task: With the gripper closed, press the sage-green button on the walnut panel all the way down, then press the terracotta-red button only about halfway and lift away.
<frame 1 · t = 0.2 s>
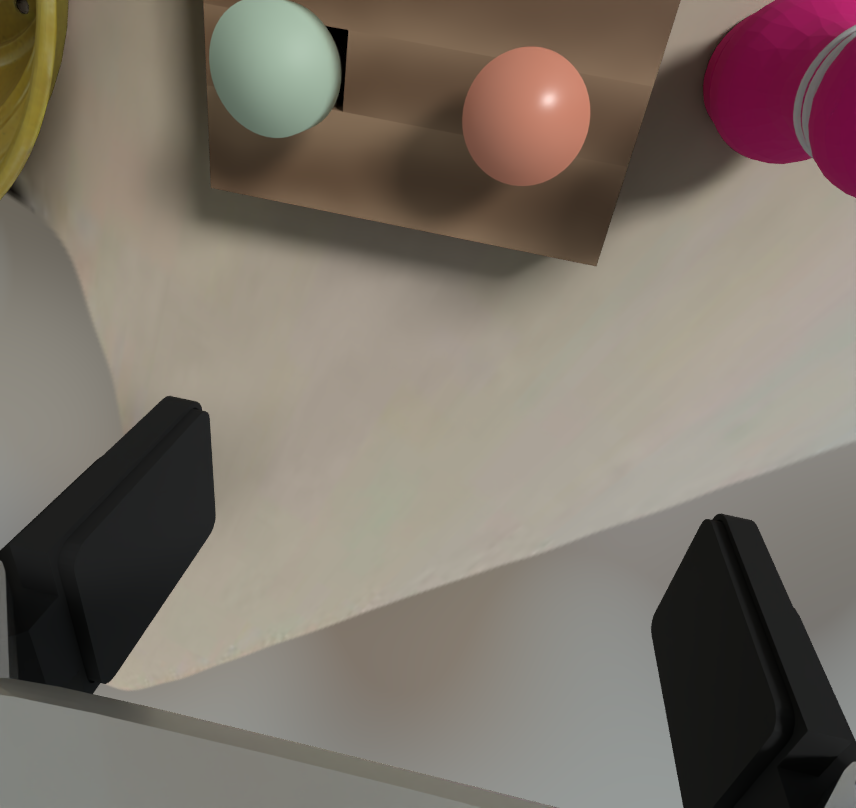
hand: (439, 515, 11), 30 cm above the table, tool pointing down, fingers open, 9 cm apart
pepper mill: (763, 75, 32), on the table
red button: (527, 110, 28), point 8 cm above the table, slide at 0.0 cm
button panel: (436, 78, 35), on the table
green button: (298, 67, 29), point 8 cm above the table, slide at 0.0 cm
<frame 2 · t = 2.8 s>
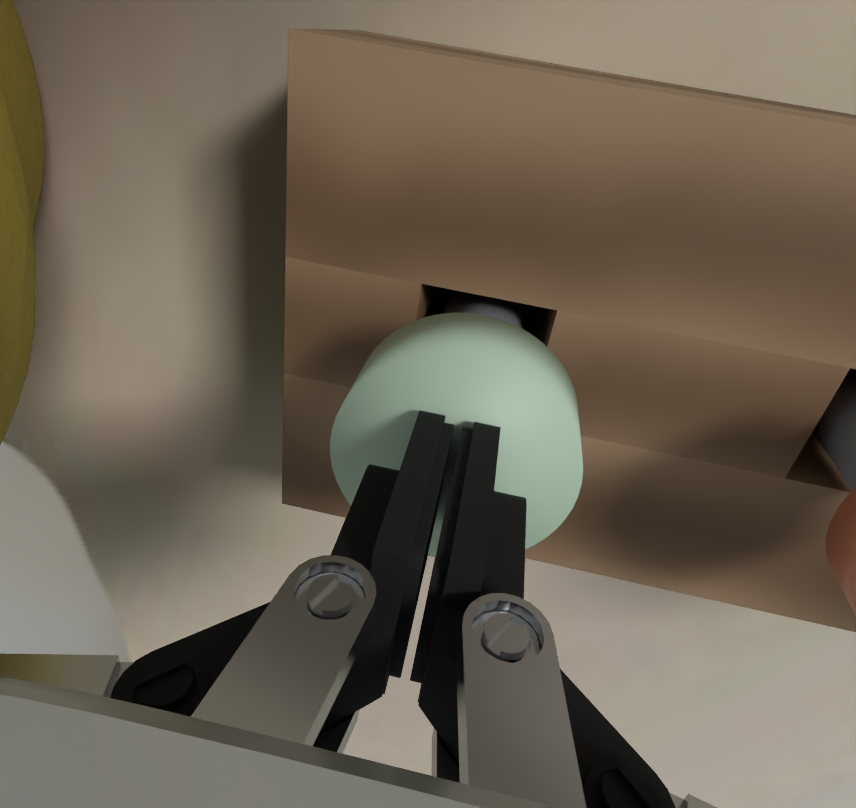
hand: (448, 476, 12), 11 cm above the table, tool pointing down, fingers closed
button panel: (645, 312, 21), on the table
green button: (471, 380, 16), point 7 cm above the table, slide at 0.4 cm, touching gripper
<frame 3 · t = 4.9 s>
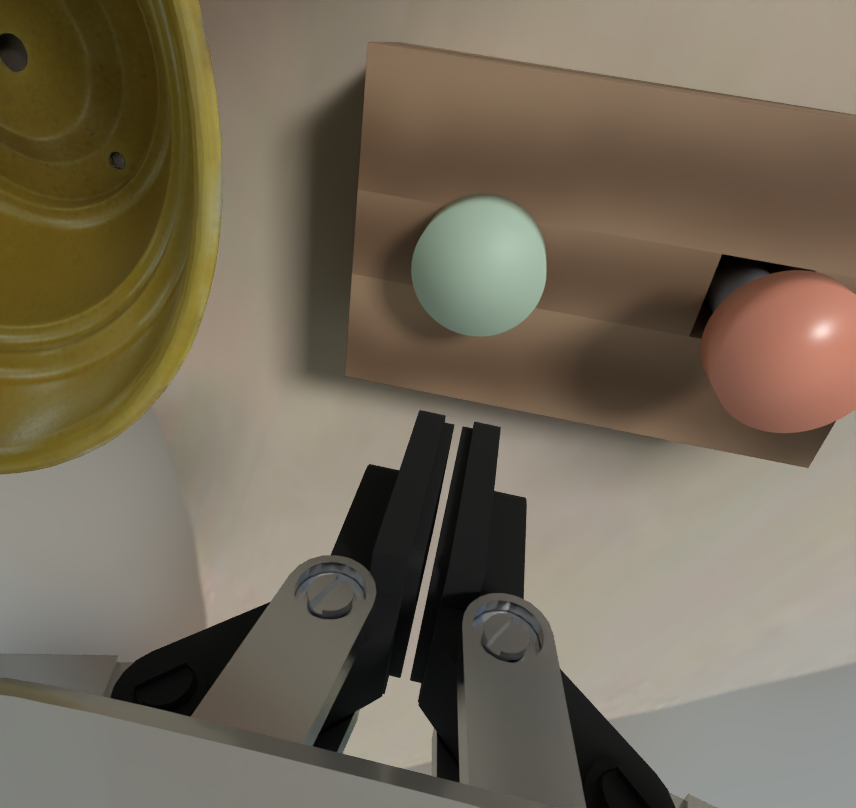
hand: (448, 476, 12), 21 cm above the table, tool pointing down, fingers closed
planter bowl: (31, 54, 30), on the table
red button: (763, 322, 23), point 8 cm above the table, slide at 0.0 cm
button panel: (601, 240, 30), on the table
green button: (485, 246, 26), point 5 cm above the table, slide at 3.2 cm
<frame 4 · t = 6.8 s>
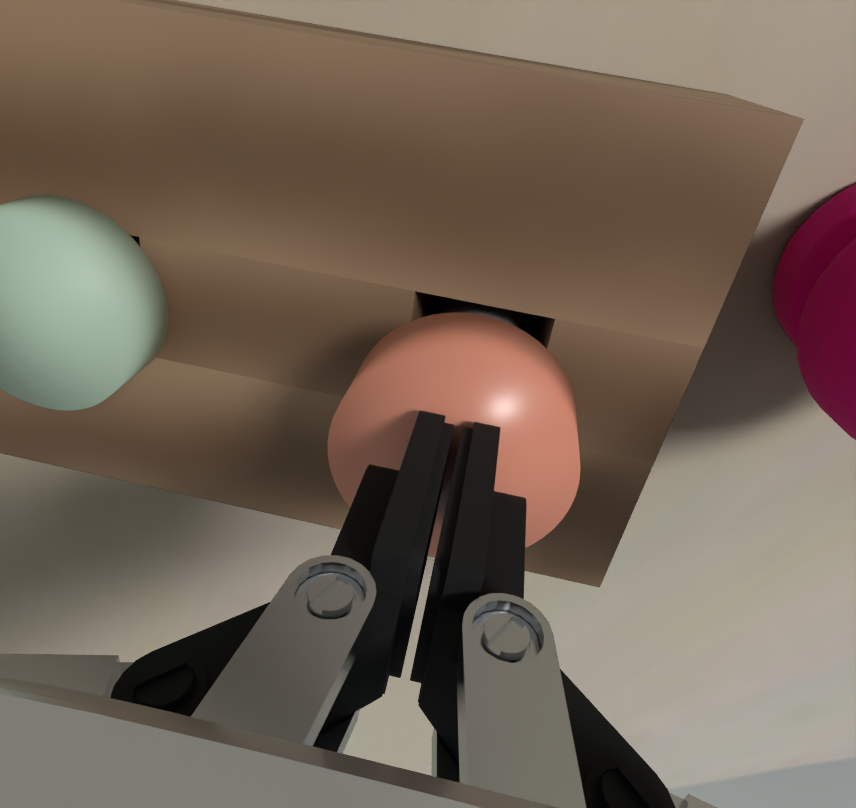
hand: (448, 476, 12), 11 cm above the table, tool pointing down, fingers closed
red button: (468, 380, 16), point 7 cm above the table, slide at 1.0 cm, touching gripper
button panel: (337, 258, 22), on the table
green button: (116, 271, 18), point 5 cm above the table, slide at 3.2 cm
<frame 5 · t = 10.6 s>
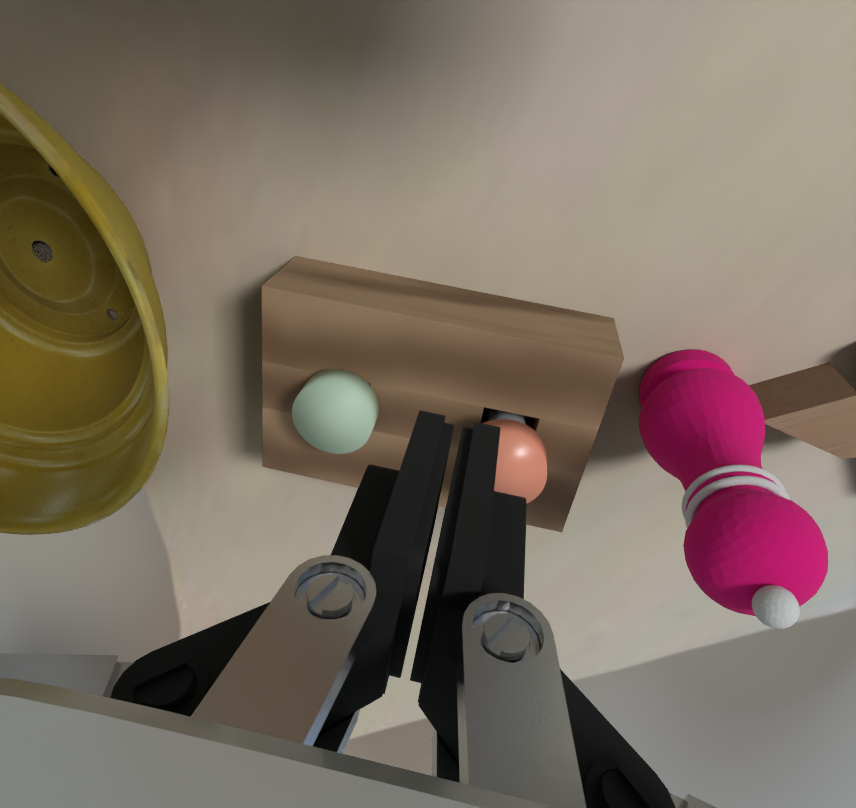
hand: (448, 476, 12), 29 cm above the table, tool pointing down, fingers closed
planter bowl: (54, 247, 45), on the table
pepper mill: (684, 387, 42), on the table
red button: (505, 438, 39), point 6 cm above the table, slide at 1.4 cm
button panel: (436, 375, 45), on the table
green button: (347, 390, 41), point 5 cm above the table, slide at 3.2 cm
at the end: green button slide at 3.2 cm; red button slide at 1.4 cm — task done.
